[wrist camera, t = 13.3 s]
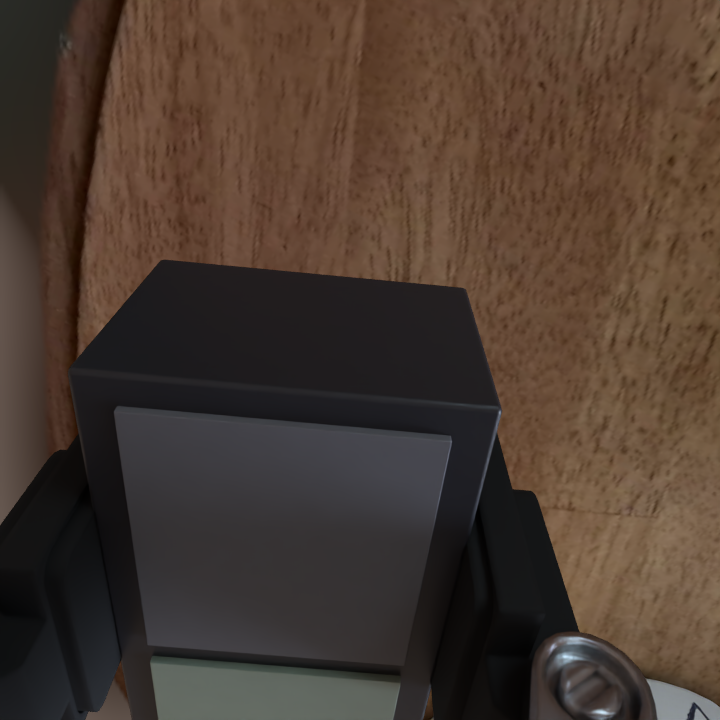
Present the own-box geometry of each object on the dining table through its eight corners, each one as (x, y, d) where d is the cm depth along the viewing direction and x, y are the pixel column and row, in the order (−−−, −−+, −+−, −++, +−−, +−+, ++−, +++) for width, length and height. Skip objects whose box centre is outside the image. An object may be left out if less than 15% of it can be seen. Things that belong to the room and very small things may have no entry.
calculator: (160, 257, 9) (58, 374, 6) (466, 286, 9) (507, 415, 6) (186, 575, 13) (130, 742, 10) (407, 593, 13) (414, 764, 10)
